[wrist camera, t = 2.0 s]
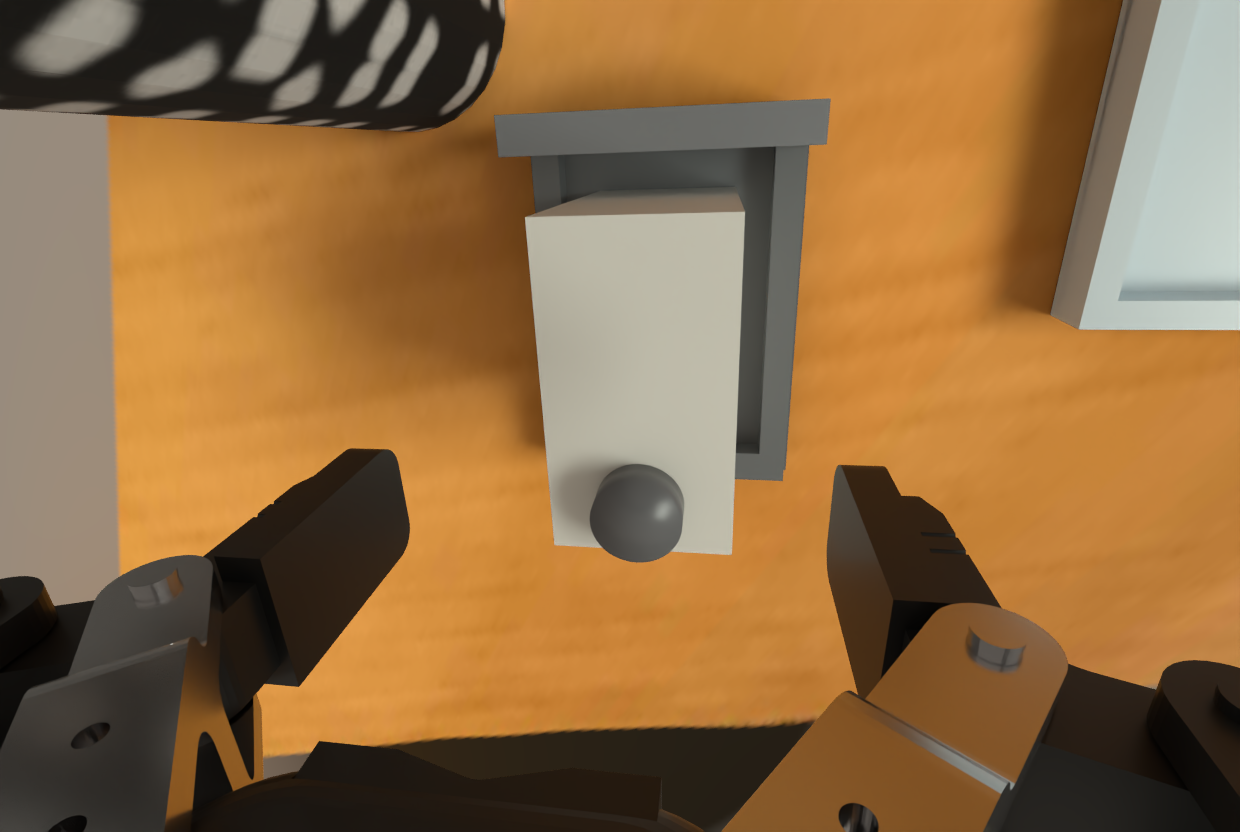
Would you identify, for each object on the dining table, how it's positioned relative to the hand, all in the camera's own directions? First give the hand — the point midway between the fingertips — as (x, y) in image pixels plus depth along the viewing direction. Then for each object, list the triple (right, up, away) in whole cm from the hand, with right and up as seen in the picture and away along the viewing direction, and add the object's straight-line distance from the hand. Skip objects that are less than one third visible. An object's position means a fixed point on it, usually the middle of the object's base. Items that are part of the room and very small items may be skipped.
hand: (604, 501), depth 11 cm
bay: (+2, +6, +14) cm, 16 cm away
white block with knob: (+2, +6, +14) cm, 15 cm away
